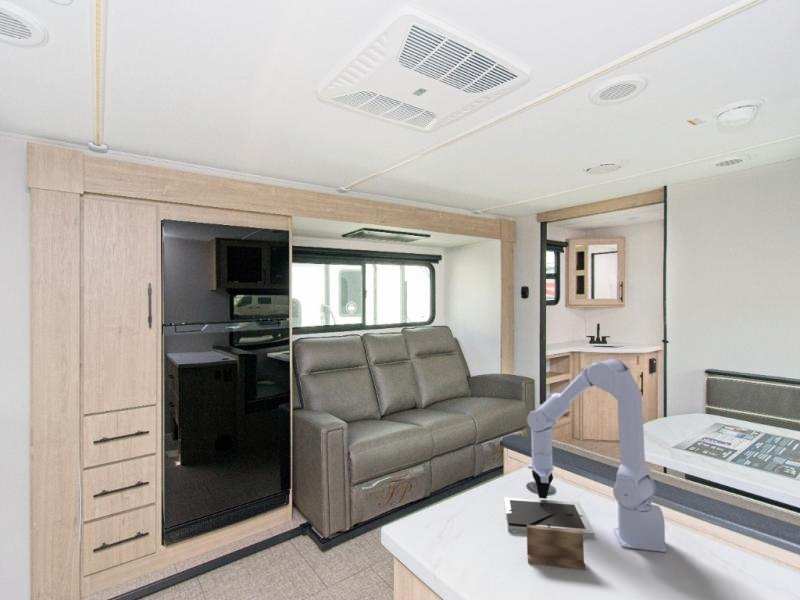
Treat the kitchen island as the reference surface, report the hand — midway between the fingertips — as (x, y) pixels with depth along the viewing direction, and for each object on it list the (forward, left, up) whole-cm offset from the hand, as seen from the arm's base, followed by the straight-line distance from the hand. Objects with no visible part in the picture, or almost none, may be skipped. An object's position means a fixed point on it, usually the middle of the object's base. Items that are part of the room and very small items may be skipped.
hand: (542, 497), depth 120 cm
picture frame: (0, +9, -2) cm, 10 cm away
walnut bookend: (0, +28, -1) cm, 28 cm away
